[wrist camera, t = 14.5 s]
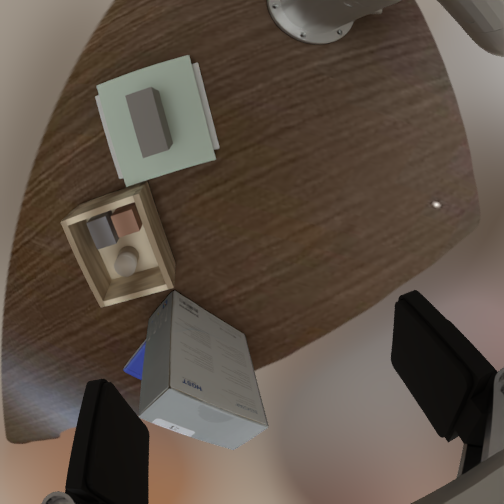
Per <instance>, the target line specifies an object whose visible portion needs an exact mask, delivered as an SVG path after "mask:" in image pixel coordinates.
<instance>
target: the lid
mask: <svg viewBox="0 0 504 504" xmlns="http://www.w3.org/2000/svg"><path fill="white" fill-rule="evenodd" d="M97 89H98V93H99V97H100V101H101V105H102V108H103V112H104V116H105V119H106V123H107V126H108V130H109V133H110V137H111V140H112V143H113V147H114V150H115V153H116V157H117V160H118V163H119V166H120V169H121V172H122V175H123V178H124V181H125V184H126V187H128V186H131V185H134V184H137V183H140V182H143V181H146V180H149V179H152V178H155V177H158V176H161V175H165V174H168V173H171V172H174V171H178V170H181V169H184V168H188V167H191V166H195V165H198V164H202V163H205V162H209V161H212V160H216V158H215V154H214V150H213V146H212V142H211V138H210V135H209V131H208V127H207V123H206V119H205V115H204V111H203V108H202V104H201V100H200V96H199V92H198V88H197V84H196V80H195V76H194V72H193V68H192V64H191V60H190V57H189V55H187V56H183V57H179V58H176V59H172V60H169V61H165V62H162V63H159V64H155V65H152V66H149V67H146V68H143V69H140V70H137V71H134V72H131V73H129V74H126V75H123V76H120V77H118V78H115V79H112V80H110V81H107V82H105V83H102V84H100V85H97Z"/></svg>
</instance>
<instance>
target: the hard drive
mask: <svg viewBox="0 0 504 504" xmlns="http://www.w3.org/2000/svg"><path fill="white" fill-rule="evenodd" d="M145 346H146V340H145V341H144V342H143V344H142V345H141V346H140V347H139V349H138V350H137V351H136V353H135V354H134V355H133V356H132V358H131V359H130V360H129V362H128V363H127V364H126V366H125V367H124V371H125V372H126V373H128V374H130V375H132V376H134V377H136V378H138V379H140V380H142V372H143V362H144V354H145Z"/></svg>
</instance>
